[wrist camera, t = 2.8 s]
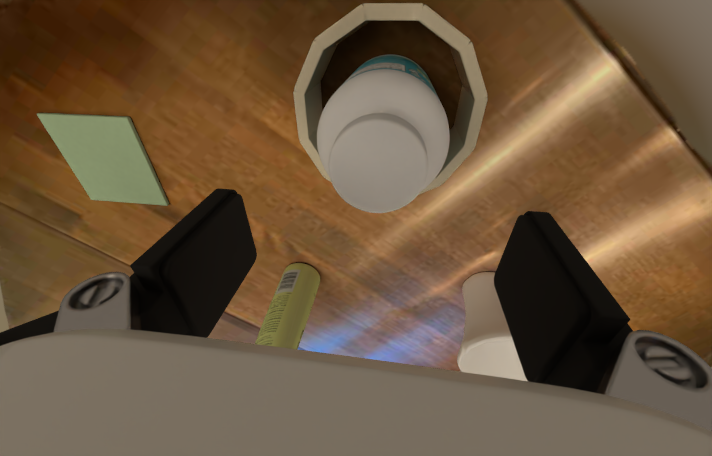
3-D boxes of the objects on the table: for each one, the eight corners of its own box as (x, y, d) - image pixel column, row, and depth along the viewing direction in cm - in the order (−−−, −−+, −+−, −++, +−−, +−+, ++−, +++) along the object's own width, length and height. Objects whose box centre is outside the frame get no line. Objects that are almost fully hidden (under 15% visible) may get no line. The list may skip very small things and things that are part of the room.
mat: (40, 112, 29) (35, 113, 29) (129, 116, 28) (126, 117, 27) (93, 198, 35) (91, 199, 34) (169, 203, 34) (167, 205, 33)
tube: (323, 292, 40) (271, 470, 24) (287, 288, 40) (215, 460, 25) (319, 262, 36) (257, 447, 21) (281, 259, 37) (192, 436, 21)
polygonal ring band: (305, 5, 21) (282, 3, 17) (490, 5, 19) (512, 2, 16) (318, 170, 29) (305, 195, 25) (451, 178, 27) (460, 205, 23)
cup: (474, 249, 32) (497, 327, 24) (540, 280, 33) (583, 364, 25) (429, 294, 37) (436, 369, 29) (488, 319, 38) (510, 398, 31)
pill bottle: (434, 141, 25) (458, 232, 15) (353, 151, 27) (321, 241, 16) (432, 42, 21) (463, 68, 10) (336, 61, 23) (277, 101, 12)
